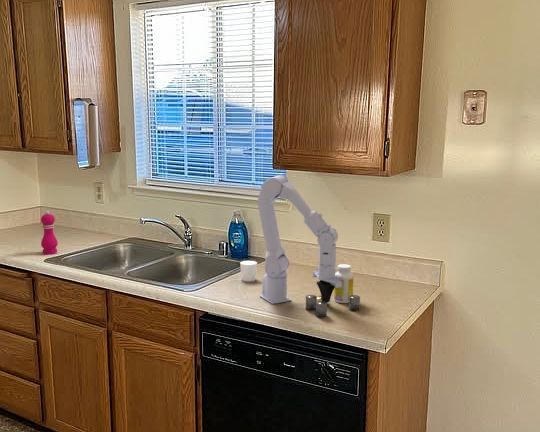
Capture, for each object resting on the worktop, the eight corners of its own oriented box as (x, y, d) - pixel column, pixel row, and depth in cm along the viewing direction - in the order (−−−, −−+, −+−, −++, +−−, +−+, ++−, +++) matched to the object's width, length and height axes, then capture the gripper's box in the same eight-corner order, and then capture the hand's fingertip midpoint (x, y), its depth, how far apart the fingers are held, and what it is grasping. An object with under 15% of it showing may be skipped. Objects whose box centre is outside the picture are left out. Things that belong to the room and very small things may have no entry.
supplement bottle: (350, 297, 199) (352, 263, 197) (354, 303, 192) (355, 268, 190) (332, 297, 199) (333, 263, 196) (335, 303, 192) (336, 268, 190)
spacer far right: (313, 315, 181) (314, 302, 180) (322, 313, 183) (323, 300, 182) (319, 318, 178) (320, 305, 177) (329, 316, 180) (329, 303, 179)
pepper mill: (42, 255, 252) (39, 212, 248) (40, 252, 258) (37, 210, 254) (59, 253, 255) (56, 211, 252) (57, 250, 262) (54, 209, 258)
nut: (312, 302, 194) (312, 296, 193) (322, 300, 196) (322, 294, 195) (319, 305, 190) (319, 300, 190) (329, 303, 192) (329, 298, 192)
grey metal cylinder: (346, 308, 188) (347, 296, 187) (355, 306, 189) (355, 294, 189) (353, 311, 185) (353, 299, 184) (361, 310, 186) (362, 297, 185)
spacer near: (303, 308, 187) (303, 295, 187) (312, 306, 189) (312, 294, 188) (309, 311, 184) (309, 298, 184) (318, 309, 186) (318, 297, 185)
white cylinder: (236, 279, 220) (236, 262, 218) (249, 275, 224) (249, 259, 223) (247, 283, 215) (247, 265, 213) (260, 279, 219) (260, 262, 218)
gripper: (349, 267, 183) (348, 306, 186) (324, 257, 196) (323, 294, 198) (332, 270, 180) (330, 309, 182) (308, 259, 192) (307, 296, 195)
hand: (326, 301), depth 190 cm, fingers closed
